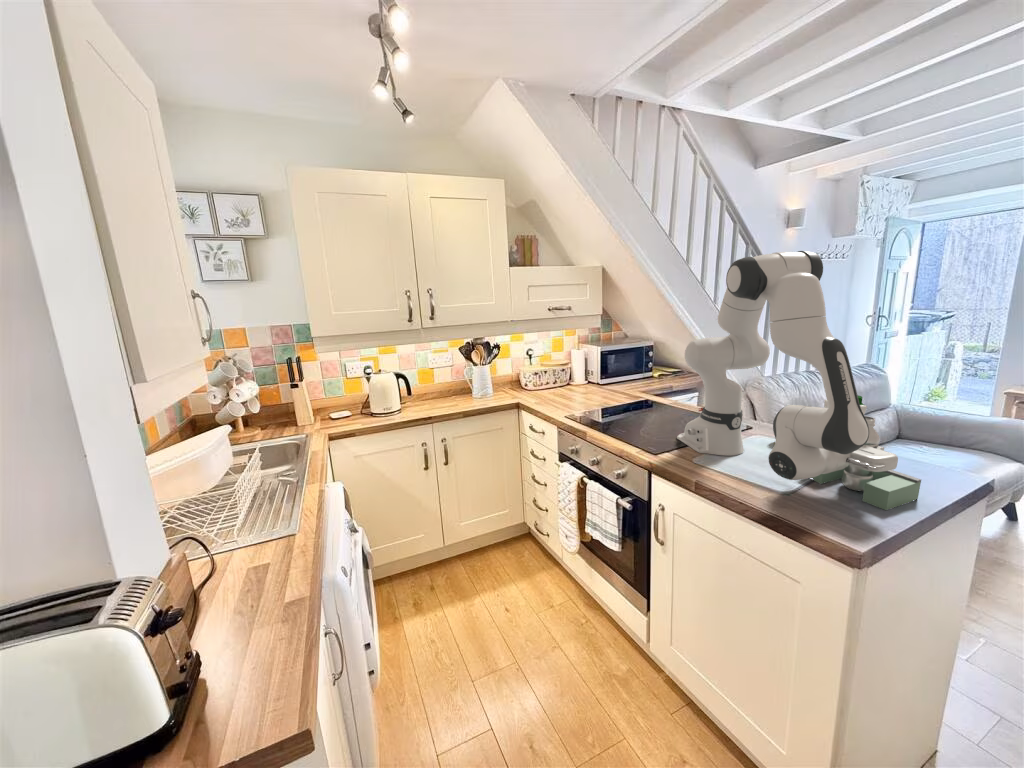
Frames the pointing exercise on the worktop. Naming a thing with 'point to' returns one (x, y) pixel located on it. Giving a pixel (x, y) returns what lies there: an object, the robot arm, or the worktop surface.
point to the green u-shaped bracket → (883, 488)
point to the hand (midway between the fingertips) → (864, 444)
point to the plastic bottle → (857, 476)
